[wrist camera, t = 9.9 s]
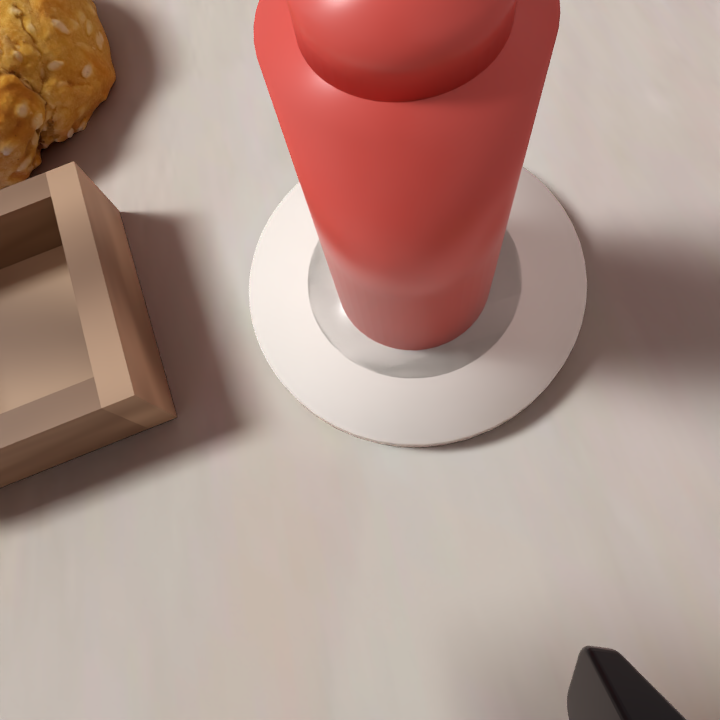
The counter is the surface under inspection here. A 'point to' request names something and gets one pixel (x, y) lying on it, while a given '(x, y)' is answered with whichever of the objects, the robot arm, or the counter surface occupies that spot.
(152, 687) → the counter surface
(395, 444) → the saucer
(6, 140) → the bagel
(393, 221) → the ketchup bottle
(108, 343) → the tray
